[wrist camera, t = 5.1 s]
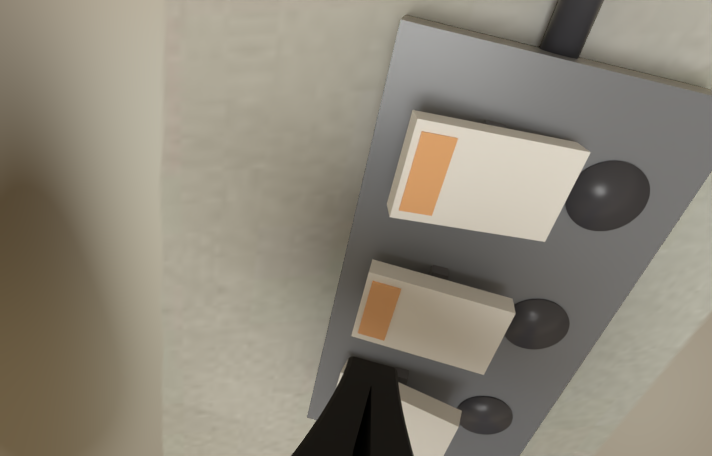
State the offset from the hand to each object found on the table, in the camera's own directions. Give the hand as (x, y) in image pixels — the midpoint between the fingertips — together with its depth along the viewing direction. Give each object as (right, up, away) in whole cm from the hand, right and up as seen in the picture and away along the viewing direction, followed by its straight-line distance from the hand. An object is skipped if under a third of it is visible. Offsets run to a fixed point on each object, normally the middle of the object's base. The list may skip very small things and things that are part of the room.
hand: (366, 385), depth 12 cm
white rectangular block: (+1, -3, +6) cm, 7 cm away
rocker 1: (+3, +6, 0) cm, 7 cm away
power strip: (+5, +6, +5) cm, 9 cm away
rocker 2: (+2, +1, +3) cm, 4 cm away
